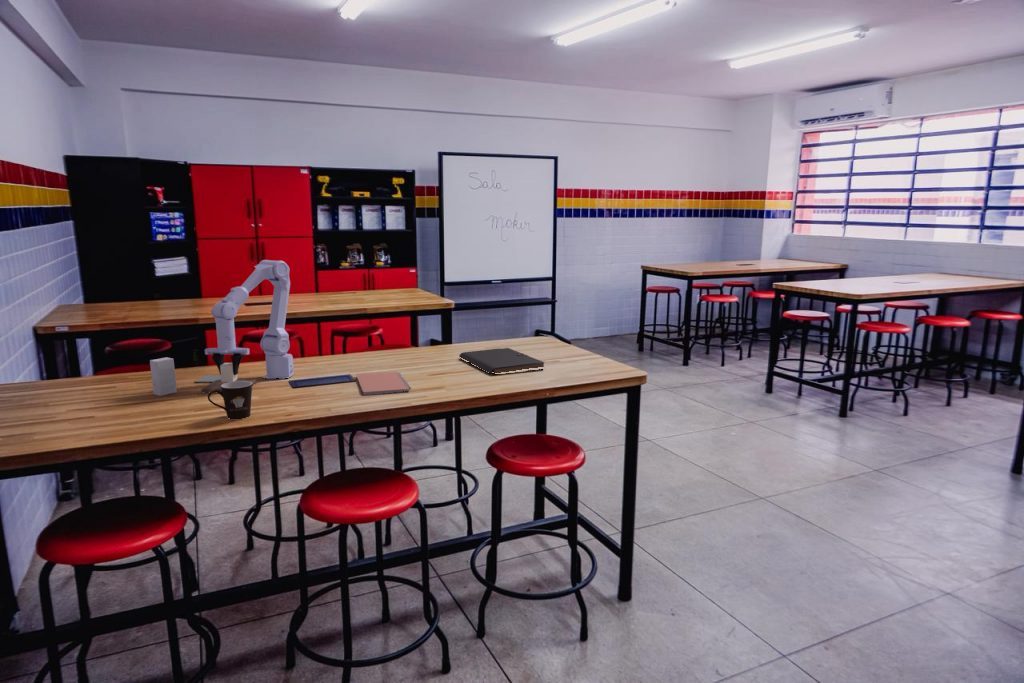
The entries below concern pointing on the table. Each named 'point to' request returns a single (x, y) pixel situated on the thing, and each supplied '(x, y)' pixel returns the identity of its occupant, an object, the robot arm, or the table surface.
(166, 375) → the skincare box
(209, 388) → the puzzle board
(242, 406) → the coffee mug
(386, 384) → the notebook
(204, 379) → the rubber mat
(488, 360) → the dark hardcover book
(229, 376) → the cream block
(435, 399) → the table surface
